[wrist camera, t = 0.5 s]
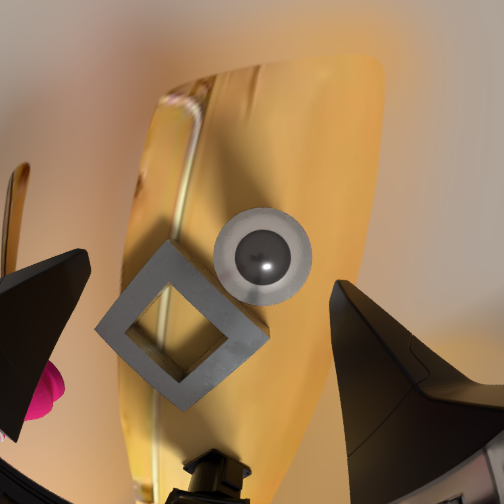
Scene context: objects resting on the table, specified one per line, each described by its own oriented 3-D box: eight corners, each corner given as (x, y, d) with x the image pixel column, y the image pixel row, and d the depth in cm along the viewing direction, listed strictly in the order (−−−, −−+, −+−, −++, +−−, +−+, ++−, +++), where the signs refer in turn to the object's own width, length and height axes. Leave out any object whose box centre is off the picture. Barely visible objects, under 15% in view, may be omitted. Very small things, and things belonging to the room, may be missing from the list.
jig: (188, 398, 27) (183, 411, 24) (105, 321, 26) (94, 329, 24) (269, 328, 26) (270, 338, 23) (175, 238, 25) (166, 239, 23)
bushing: (261, 284, 25) (263, 325, 14) (221, 245, 25) (192, 258, 14) (300, 244, 25) (332, 256, 14) (260, 204, 25) (261, 186, 14)
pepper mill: (67, 408, 28) (-14, 489, 8) (30, 380, 28) (-55, 443, 8) (69, 371, 27) (-34, 456, 7) (31, 342, 27) (-74, 401, 7)
